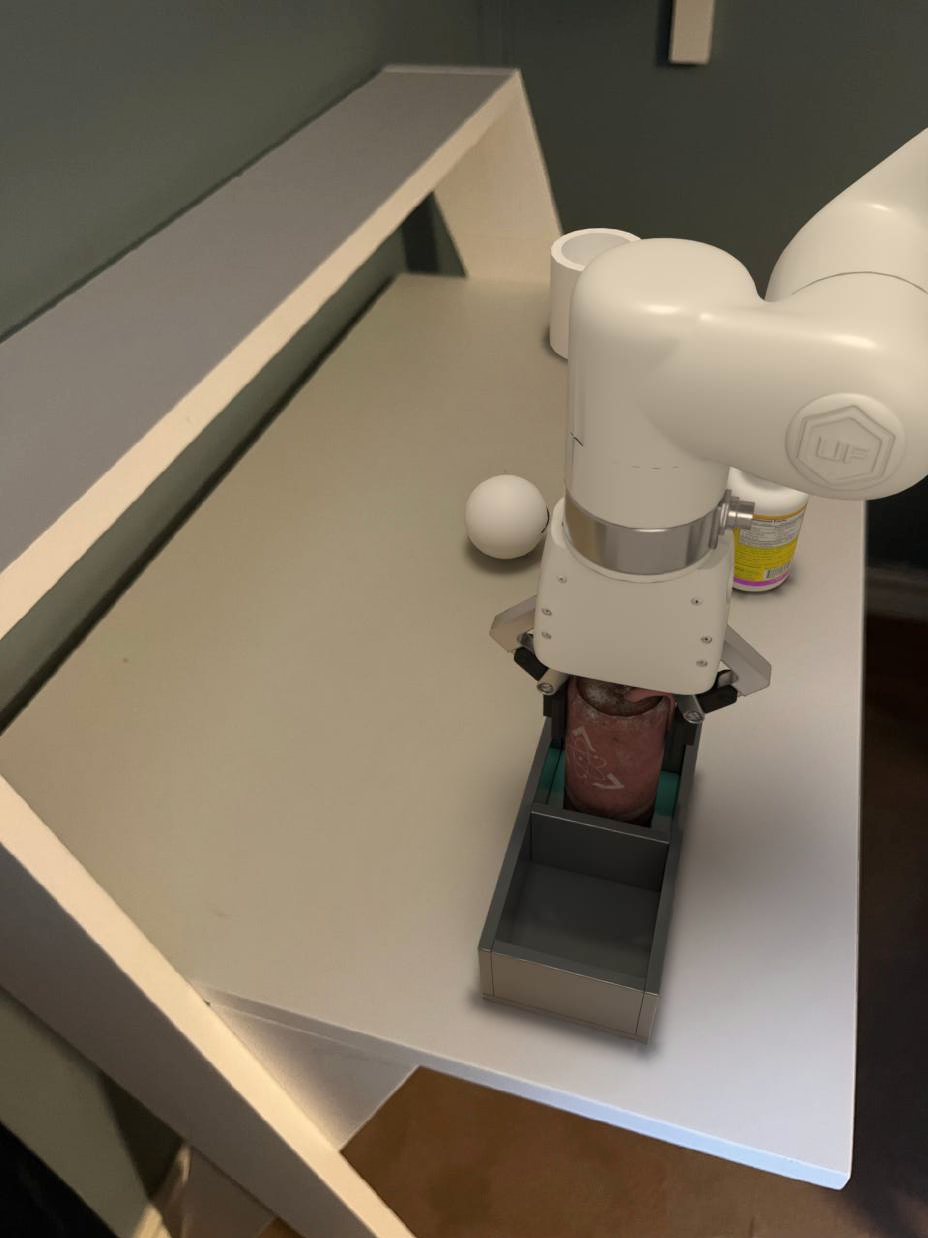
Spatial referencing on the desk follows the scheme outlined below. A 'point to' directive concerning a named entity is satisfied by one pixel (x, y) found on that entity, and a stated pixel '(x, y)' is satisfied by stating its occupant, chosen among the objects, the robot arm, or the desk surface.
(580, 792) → the can
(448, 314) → the desk surface
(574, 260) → the mug
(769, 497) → the supplement bottle
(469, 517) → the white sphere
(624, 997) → the grey divided box
